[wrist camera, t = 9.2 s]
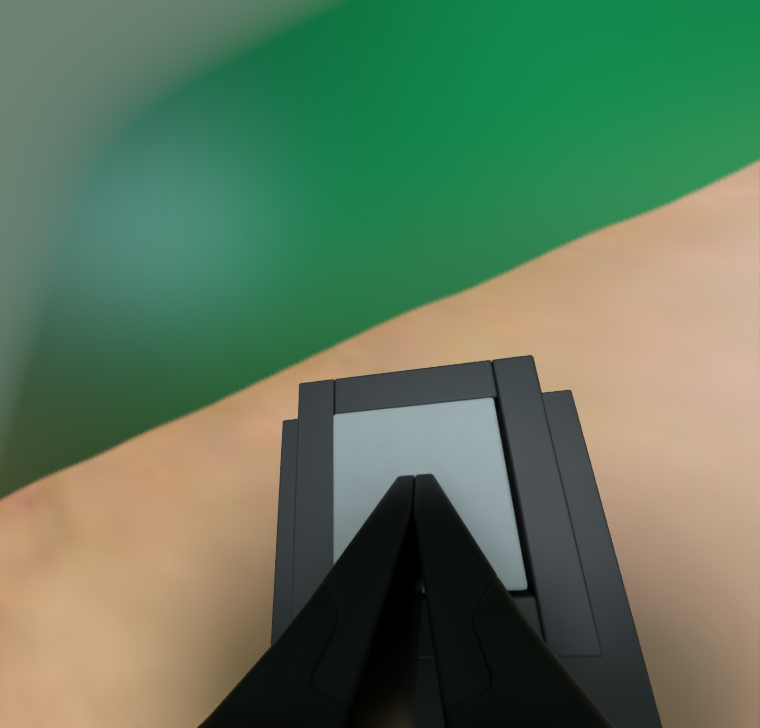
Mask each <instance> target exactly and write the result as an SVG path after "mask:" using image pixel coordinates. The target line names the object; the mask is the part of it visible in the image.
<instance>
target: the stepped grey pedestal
mask: <svg viewBox="0 0 760 728" xmlns="http://www.w3.org/2000/svg"><path fill="white" fill-rule="evenodd" d="M481 398H493V400H494V403H495V409H496V415H497V420H498V426H499V431H500V437H501V442H502V448H503V453H504V459H505V464H506V470H507V475H508V481H509V486H510V492H511V497H512V503H513V508H514V514H515V519H516V525H517V530H518V536H519V541H520V547H521V552H522V558H523V563H524V569H525V575H526V580H527V589H525V590H514V591H508V592H509V594H510V595H511V597H512V598H513V600H514V601H515V602H516V604H517V605H518V607H519V608H520V610H521V611H522V613H523V614H524V616H525V617H526V618H527V620H528V621H529V622H530V624H531V625H532V626H533V627H534V629H535V630H536V631H537V633H538V634H539V635H540V636H541V638H542V639H543V640H544V642H545V643H546V644H547V645H548V647H549V648H550V649H551V650H552V652H553V653H554V654H555V655H556V656H557V658H558V659H559V660H560V661H561V663H562V664H563V665H564V666H565V667H566V669H567V670H568V671H569V672H570V674H571V675H572V676H573V677H574V678H575V680H576V681H577V682H578V683H579V685H580V686H581V687H582V688H583V689H584V691H585V692H586V693H587V694H588V696H589V697H590V698H591V699H592V700H593V702H594V703H595V704H596V705H597V707H598V708H599V709H600V710H601V711H602V713H603V714H604V715H605V716H606V718H607V719H608V720H609V721H610V722H611V723H612V725H613V726H614V727H615V728H662V724H661V721H660V717H659V713H658V709H657V706H656V702H655V698H654V695H653V691H652V687H651V684H650V680H649V676H648V673H647V669H646V665H645V661H644V658H643V654H642V650H641V647H640V643H639V639H638V636H637V632H636V628H635V624H634V621H633V617H632V613H631V610H630V606H629V602H628V599H627V595H626V591H625V587H624V584H623V580H622V576H621V573H620V569H619V565H618V562H617V558H616V554H615V551H614V547H613V543H612V539H611V536H610V532H609V528H608V525H607V521H606V517H605V514H604V510H603V506H602V502H601V499H600V495H599V491H598V488H597V484H596V480H595V477H594V473H593V469H592V465H591V462H590V458H589V454H588V451H587V447H586V443H585V440H584V436H583V432H582V429H581V425H580V421H579V417H578V414H577V410H576V406H575V403H574V399H573V395H572V392H571V390H564V391H554V392H545V393H542V392H541V388H540V383H539V379H538V375H537V371H536V366H535V362H534V358H533V356H532V355H528V356H520V357H512V358H504V359H496V360H493V361H492V362H491V361H490V360H487V361H479V362H471V363H463V364H454V365H446V366H438V367H430V368H422V369H414V370H406V371H398V372H390V373H381V374H373V375H365V376H357V377H349V378H341V379H336V380H333V379H332V380H324V381H315V382H307V383H300V384H299V406H298V419H294V420H284V421H283V429H282V448H281V466H280V485H279V504H278V523H277V542H276V561H275V579H274V598H273V617H272V636H271V646H272V644H273V643H274V642H275V641H276V640H277V638H278V637H279V636H280V635H281V634H282V633H283V631H284V630H285V629H286V628H287V627H288V625H289V624H290V623H291V622H292V621H293V619H294V618H295V617H296V615H297V614H298V613H299V611H300V610H301V609H302V608H303V606H304V605H305V604H306V602H307V601H308V600H309V598H310V597H311V596H312V594H313V593H314V591H315V590H316V589H317V587H318V586H319V585H320V583H323V579H324V578H325V576H326V575H327V574H328V572H329V571H330V570H331V568H332V567H333V416H334V415H335V414H341V413H351V412H360V411H369V410H378V409H388V408H397V407H406V406H416V405H425V404H434V403H443V402H453V401H462V400H471V399H481ZM413 728H445V724H444V716H443V711H442V704H441V698H440V691H439V684H438V678H437V671H436V664H435V657H434V651H433V644H432V637H431V631H430V624H429V617H428V611H427V604H426V597H425V593H423V594H422V609H421V623H420V637H419V651H418V665H417V679H416V693H415V707H414V721H413Z"/></svg>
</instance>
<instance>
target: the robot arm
mask: <svg viewBox="0 0 760 728" xmlns="http://www.w3.org/2000/svg"><path fill="white" fill-rule="evenodd" d="M423 584H424V591H425V597H426V604H427V611H428V617H429V624H430V631H431V637H432V644H433V651H434V657H435V664H436V671H437V678H438V684H439V691H440V698H441V704H442V711H443V716H444V724H445V728H615V727H614V726H613V725H612V723H611V722H610V721H609V720H608V719H607V718H606V716H605V715H604V714H603V713H602V711H601V710H600V709H599V708H598V707H597V705H596V704H595V703H594V702H593V700H592V699H591V698H590V697H589V696H588V694H587V693H586V692H585V691H584V689H583V688H582V687H581V686H580V685H579V683H578V682H577V681H576V680H575V678H574V677H573V676H572V675H571V674H570V672H569V671H568V670H567V669H566V667H565V666H564V665H563V664H562V663H561V661H560V660H559V659H558V658H557V656H556V655H555V654H554V653H553V652H552V650H551V649H550V648H549V647H548V645H547V644H546V643H545V642H544V640H543V639H542V638H541V636H540V635H539V634H538V633H537V631H536V630H535V629H534V627H533V626H532V625H531V624H530V622H529V621H528V620H527V618H526V617H525V616H524V614H523V613H522V611H521V610H520V608H519V607H518V605H517V604H516V602H515V601H514V600H513V598H512V597H511V595H510V594H509V592H508V591H507V589H506V587H505V586H504V584H503V583H502V581H501V580H500V578H498V576H497V574H496V572H495V571H494V569H493V567H492V566H491V564H490V563H489V561H488V560H487V558H486V556H485V555H484V553H483V552H482V550H481V549H480V547H479V545H478V544H477V542H476V541H475V539H474V538H473V536H472V534H471V533H470V531H469V530H468V528H467V527H466V525H465V523H464V522H463V520H462V519H461V517H460V516H459V514H458V512H457V511H456V509H455V508H454V506H453V505H452V503H451V501H450V500H449V498H448V497H447V495H446V494H445V492H444V490H443V489H442V487H441V486H440V484H439V483H438V481H437V479H436V478H435V476H434V475H433V474H431V473H428V474H418V475H416V477H415V476H414V475H402V476H398V477H397V478H396V479H395V481H394V482H393V484H392V485H391V486H390V488H389V489H388V491H387V492H386V493H385V495H384V496H383V497H382V499H381V500H380V502H379V503H378V504H377V506H376V507H375V509H374V510H373V511H372V513H371V514H370V515H369V517H368V518H367V520H366V521H365V522H364V524H363V525H362V527H361V528H360V529H359V531H358V532H357V533H356V535H355V536H354V538H353V539H352V540H351V542H350V543H349V545H348V546H347V547H346V549H345V550H344V552H343V553H342V554H341V556H340V557H339V558H338V560H337V561H336V563H335V564H334V565H333V567H332V568H331V570H330V571H329V572H328V574H327V575H326V576H325V578H324V579H323V583H320V585H319V586H318V587H317V589H316V590H315V591H314V593H313V594H312V596H311V597H310V598H309V600H308V601H307V602H306V604H305V605H304V606H303V608H302V609H301V610H300V611H299V613H298V614H297V615H296V617H295V618H294V619H293V621H292V622H291V623H290V624H289V625H288V627H287V628H286V629H285V630H284V631H283V633H282V634H281V635H280V636H279V637H278V638H277V640H276V641H275V642H274V643H273V644H272V646H271V647H270V648H269V649H268V650H267V651H266V652H265V654H264V655H263V656H262V657H261V658H260V659H259V660H258V662H257V663H256V664H255V665H254V666H253V667H252V668H251V670H250V671H249V672H248V673H247V674H246V675H245V676H244V677H243V679H242V680H241V681H240V682H239V683H238V684H237V685H236V687H235V688H234V689H233V690H232V691H231V692H230V693H229V695H228V696H227V697H226V698H225V699H224V700H223V701H222V703H221V704H220V705H219V706H218V707H217V708H216V709H215V710H214V711H213V712H212V714H211V715H210V716H209V717H208V718H207V719H206V720H205V721H204V722H203V723H202V724H200V725H199V726H198V727H197V728H413V721H414V707H415V693H416V679H417V665H418V651H419V637H420V623H421V609H422V594H423Z"/></svg>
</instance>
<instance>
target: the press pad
mask: <svg viewBox="0 0 760 728" xmlns="http://www.w3.org/2000/svg"><path fill="white" fill-rule="evenodd" d="M428 473H431V474H433V475H434V476H435V478H436V479H437V481H438V483H439V484H440V486H441V487H442V489H443V490H444V492H445V494H446V495H447V497H448V498H449V500H450V501H451V503H452V505H453V506H454V508H455V509H456V511H457V512H458V514H459V516H460V517H461V519H462V520H463V522H464V523H465V525H466V527H467V528H468V530H469V531H470V533H471V534H472V536H473V538H474V539H475V541H476V542H477V544H478V545H479V547H480V549H481V550H482V552H483V553H484V555H485V556H486V558H487V560H488V561H489V563H490V564H491V566H492V567H493V569H494V571H495V572H496V574H497V576H498V578H500V580H501V581H502V583H503V584H504V586H505V587H506V589H507V591H514V590H525V589H527V580H526V575H525V569H524V563H523V558H522V552H521V547H520V541H519V536H518V530H517V525H516V519H515V514H514V508H513V503H512V497H511V492H510V486H509V481H508V475H507V470H506V464H505V459H504V453H503V448H502V442H501V437H500V431H499V426H498V420H497V415H496V409H495V403H494V400H493V398H481V399H471V400H462V401H453V402H443V403H434V404H425V405H416V406H406V407H397V408H388V409H378V410H369V411H360V412H351V413H341V414H335V415H334V416H333V565H334V564H335V563H336V561H337V560H338V558H339V557H340V556H341V554H342V553H343V552H344V550H345V549H346V547H347V546H348V545H349V543H350V542H351V540H352V539H353V538H354V536H355V535H356V533H357V532H358V531H359V529H360V528H361V527H362V525H363V524H364V522H365V521H366V520H367V518H368V517H369V515H370V514H371V513H372V511H373V510H374V509H375V507H376V506H377V504H378V503H379V502H380V500H381V499H382V497H383V496H384V495H385V493H386V492H387V491H388V489H389V488H390V486H391V485H392V484H393V482H394V481H395V479H396V478H397V477H398V476H402V475H414V476H415V477H416V475H418V474H428ZM423 593H425V591H424V584H423Z"/></svg>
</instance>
